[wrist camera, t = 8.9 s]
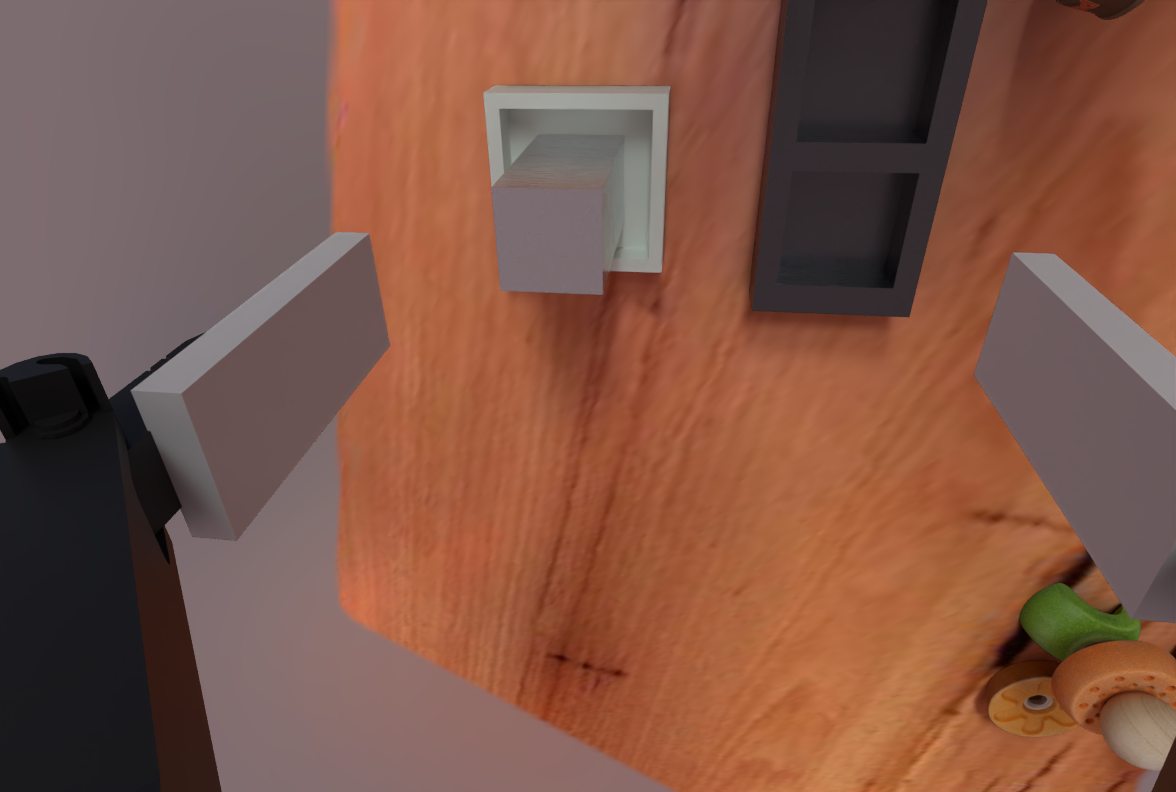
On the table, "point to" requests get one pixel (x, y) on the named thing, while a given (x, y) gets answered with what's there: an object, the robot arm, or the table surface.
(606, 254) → the grey rectangular block
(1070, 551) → the table surface
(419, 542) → the table surface
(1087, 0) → the tin
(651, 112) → the tray
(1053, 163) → the table surface
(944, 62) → the dark rectangular frame
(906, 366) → the table surface
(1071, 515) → the robot arm
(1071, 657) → the wooden stacking toy
